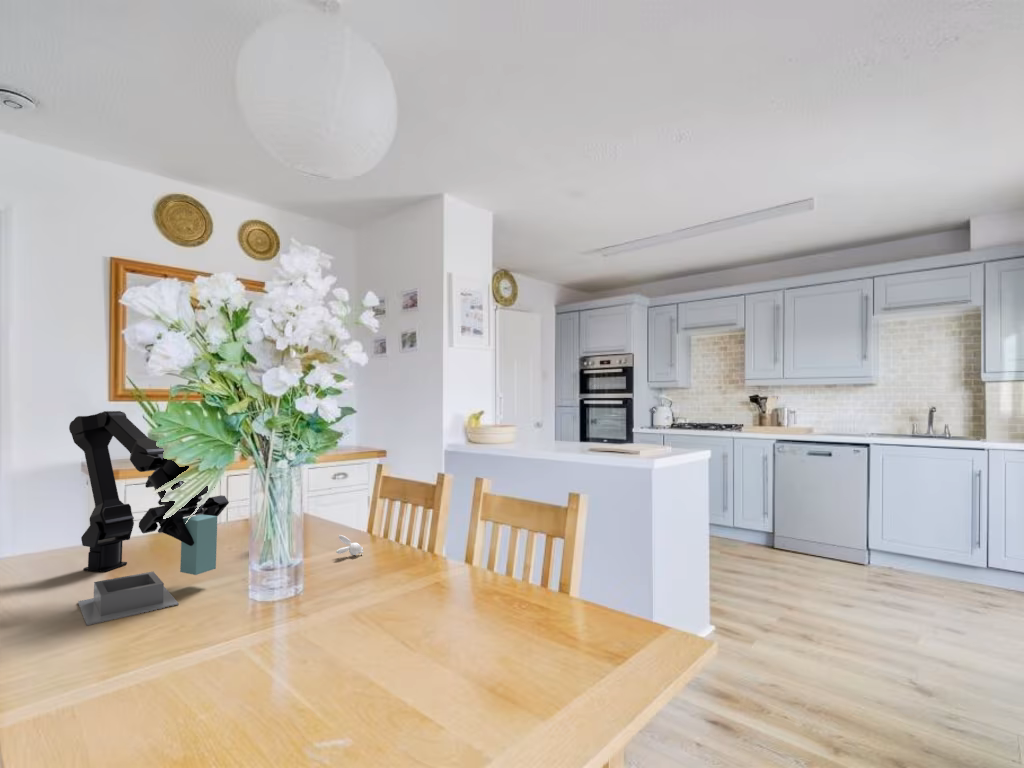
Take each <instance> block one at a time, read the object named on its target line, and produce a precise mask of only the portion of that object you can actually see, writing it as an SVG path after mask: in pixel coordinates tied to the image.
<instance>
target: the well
mask: <svg viewBox="0 0 1024 768" xmlns="http://www.w3.org/2000/svg"><path fill="white" fill-rule="evenodd" d="M164 585H165V584H164V582H163V581H162V579H161V578H160V577H159V576H158V574H157V573H155V572H154V571H149V572H141V573H137V574H133V575H132V574H131V575H127V576H126V575H125V576H120V577H115V578H110V579H109V578H108V579H105V580H98V581H94V582H93V598H86V599H83V600H78V602H77V604H78V606H79V609H80V613H81V614H82V617H83V620H84V621H85V625H86V626H90V625H95V624H100V623H105V622H110V621H113V619H114V620H116V619H122V618H127V617H132V616H135V615H140V613H141V614H145V613H149V611H150V612H154V611H157V609H159V610H162V608H163V609H166V608H165V607H168V608H170V607H169V606H172V607H175V606H174V605H177V606H179V605H178V604H179V601H177V600H176V599H175V597H174V595H173V594H171V592H170V591H169V590H168V589H167V588H166V586H164ZM153 610H154V611H153ZM144 612H145V613H144ZM104 621H105V622H104Z"/></svg>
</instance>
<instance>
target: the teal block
mask: <svg viewBox="0 0 1024 768" xmlns="http://www.w3.org/2000/svg"><path fill="white" fill-rule="evenodd" d="M189 517H191V518H190V519H189V520H188V518H189ZM187 520H188V522H187V523H186V521H187ZM183 522H184V524H185V523H186V524H185V526H186V527H187V529H188V531H189V533H190V534H191V536H192V538H193V541H194V544H193V545H192V546H189V545H187V544H185V543H184V542H182V541H180V571H179V572H180V573H183V574H188V575H194V576H198V575H200V574H204V573H207V572H210V571H213V570H216V569H217V546H218V545H217V541H218V539H217V538H218V516H211V515H204V514H201V515H197V516H196V515H192V516H187V517H183Z"/></svg>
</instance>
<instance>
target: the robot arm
mask: <svg viewBox="0 0 1024 768" xmlns="http://www.w3.org/2000/svg"><path fill="white" fill-rule="evenodd" d="M68 429H69V433H70V434H71V437H72V440H73V443H74V444H75V445H76V446H77V447H78V448H80V450H82V452H84V458H85V463H86V467H87V468H86V469H87V472H88V477H89V482H90V486H91V490H92V496H93V502H94V508H93V510H92V512H91V515H90V517H89V526H88V528H86V530H85V532H84V533H83V534H82V536H81V545H82V546H83V547H89V552H88V554H87V555H88V556H87V557H88V558H87V559H88V560H87V566H85V567H83V571H90V572H91V571H92V572H108V571H111V570H114V569H118V568H119V567H123V566H125V565H128V561H123V541H124V542H125V541H129V540H130V539H131V535H132V533H133V528H134V525H135V518H134V516H133V511H132V506H131V505H130V504H129V503H124V502H123V501H121V500H120V497H119V494H118V493H119V492H118V488H117V482H116V477H115V473H114V469H113V464H112V463H113V462H112V459H111V455H110V449H109V445H110V443H111V441H112V439H113V437H114V439H116V440H117V441H118V442H119V443H120V444H121V445H122V446H123V447H124V448H125V449H126V450H127V451H128V452H129V454H130V455H129V461H130V463H131V464H132V465H133V467H134V468H135V469H136V470H137V471H138V472H139V473H145V472H152V471H153V472H152V473H151V475H149V476H147V480H146V481H145V488H154V490H155V491H156V489H158V488H159V487H161V486H162V485H164V484H165V483H167V482H169V481H171V480H173V479H174V478H176V477H177V476H178V475H179V474H181V473H182V472H184V471H186V470H187V469H188V468H189V466H185V467H179V466H178V465H177V464H176V463H175V462H174V461H172V460H167V459H164V458H163V452H164V449H163V448H159V447H157V446H156V442H157V440H154V439H151V438H149V437H148V436H147V435H146V434H145V433H144V432H143V431H142V430H141V429H140V428H138V427H137V426H136V425H135V423H133V422H132V421H131V420H130V419H129V418H128V417H127V414H126V413H125V412H124V411H121V410H114V411H113V410H110V411H109V410H106V411H104V410H103V411H101V412H98V413H95V414H92V415H77V416H76V417H75V418H74V419H73V420H72V421H71V422H70V423H69V427H68ZM183 483H185V481H184V480H183V481H179V482H178V483H176V484H174V485H173V486H172V487H171V489H172V490H174V489H176V488H178V487H180V486H181V485H182V484H183ZM215 488H216V486H215V487H214V489H215ZM207 491H208V486H206V487H205V488H204V489H203V490H202V491H201V492H200V493H199V494H198V495H196V496H195V497H194V498H192V499H191V500H190V501H189V502H188V503H187V504H186V505H185V506H184V507H182V508H181V509H179V510H178V511H177V512H176V513H175V514H174V515H172V516H171V517H169V518H166V519H163V516H164V515H165V513H166V512H167V511H168V510H169V509H170V508H171V507H172V506H173V505H174V503H175V501H169V502H161V499H162V498H163V497H164V495H165V493H166V491H165V490H164V491H161V492H158V493H157V495H158V497H159V498H160V499H159V500H158V502H157V503H158V506H156V507H151V508H149V509H148V510H147V511H146V512H145V514H144V515H143V516H142V518H141V519H140V521H139V522H138V528H139V530H140V532H141V533H142V534H148V533H153V532H156V531H157V533H159V534H165V535H168V536H169V537H172V538H174V539H176V540H179V541H180V542H181V541H182V542H184V543H185V544H187V545H189V546H192V545H193V544H194V541H193V538H192V536H191V534H190V533H189V531H188V529H187V527H186V526H185V524H184V522H183V518H187V517H191V516H190V515H191V514H192V513H193V512H194V511H195V509H196V508H197V506H198V505H199V504H198V503H200V502H201V501H202V500H203V498H202V496H204V495H206V494H208V493H207ZM229 503H230V502H229V500H228V499H227V497H226V495H216V496H211V497H208V498H207V500H206V501H205V502H204V503H203V504H200V505H201V506H200V507H199V509H198V510H197V512H196V513H195V514H193V515H192V516H197V515H201V514H204V515H211V516H217V517H219V516H220V514H221V513H222V512H223V511H224V509H225V508H227V506H228V505H229ZM158 527H159V529H158ZM157 529H158V530H157Z"/></svg>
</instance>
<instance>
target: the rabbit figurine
mask: <svg viewBox="0 0 1024 768" xmlns="http://www.w3.org/2000/svg"><path fill="white" fill-rule="evenodd" d="M338 539H339V540H340V541H341V543H343V544H344V545H347V546H343V547H340V548H338V549H337V550H336V554H340V555H341V554H345V553H347V552H348V553H349V554H350V555H351V556H352V555H355V556H356V554H357V555H358V554H361V553H363V552H364V548H363V546H361V544H359V543H358V542H352V540H351V539H349V538H348V537H347V536H345V535H342V534H338ZM363 554H364V553H363Z"/></svg>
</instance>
